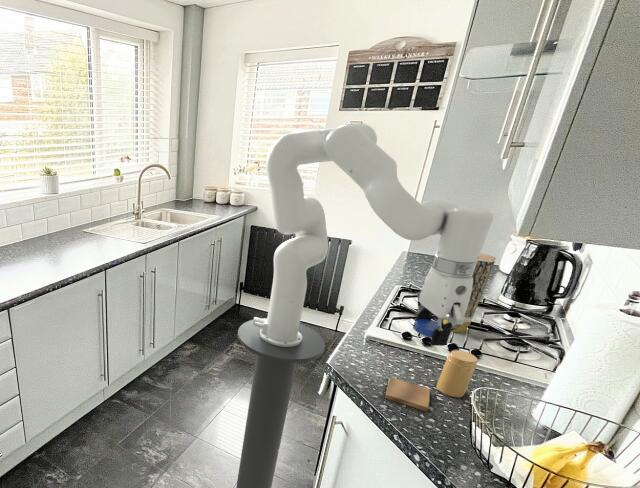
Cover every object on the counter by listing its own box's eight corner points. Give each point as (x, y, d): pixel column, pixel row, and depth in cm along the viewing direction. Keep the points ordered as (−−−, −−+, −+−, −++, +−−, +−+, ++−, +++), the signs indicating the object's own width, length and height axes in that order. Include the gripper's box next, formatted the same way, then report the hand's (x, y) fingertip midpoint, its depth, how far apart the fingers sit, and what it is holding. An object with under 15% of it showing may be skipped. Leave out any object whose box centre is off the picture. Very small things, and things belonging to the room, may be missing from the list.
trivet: (384, 398, 106) (385, 394, 105) (388, 380, 112) (389, 377, 112) (427, 411, 101) (428, 407, 100) (428, 392, 108) (430, 389, 107)
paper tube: (471, 330, 137) (500, 258, 126) (459, 335, 134) (488, 261, 124) (449, 322, 143) (475, 251, 132) (437, 326, 140) (463, 254, 129)
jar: (435, 391, 108) (449, 357, 103) (436, 380, 112) (449, 347, 108) (464, 400, 105) (479, 365, 100) (464, 388, 109) (478, 354, 105)
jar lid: (440, 327, 101) (442, 321, 100) (452, 340, 95) (454, 333, 94) (409, 323, 102) (412, 317, 101) (419, 336, 96) (421, 329, 96)
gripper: (499, 280, 83) (469, 357, 91) (447, 253, 99) (424, 320, 107) (459, 279, 84) (432, 356, 92) (414, 252, 100) (394, 319, 107)
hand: (428, 336), depth 99 cm, fingers closed on jar lid, 6 cm apart
